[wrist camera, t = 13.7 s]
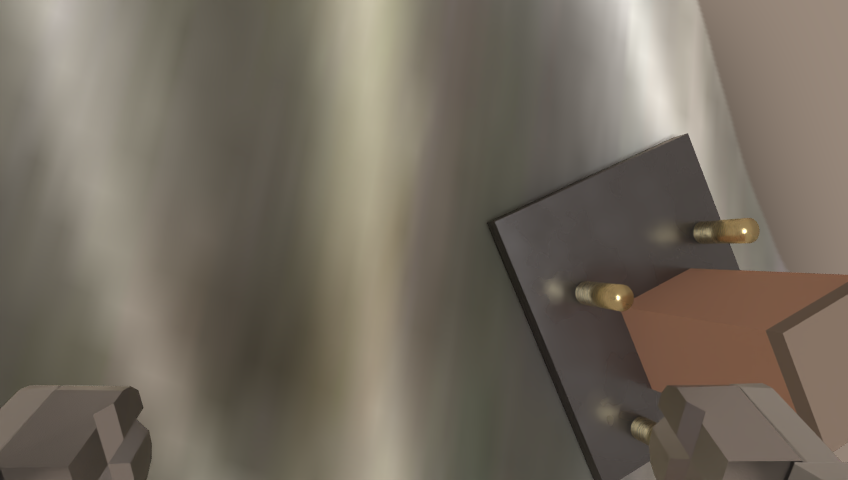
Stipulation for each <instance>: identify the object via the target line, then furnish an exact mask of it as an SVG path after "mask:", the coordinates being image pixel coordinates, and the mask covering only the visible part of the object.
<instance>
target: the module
mask: <svg viewBox="0 0 848 480" xmlns="http://www.w3.org/2000/svg"><path fill="white" fill-rule="evenodd" d="M621 313H622V315H623V318H624V320H625V323H626V325H627V328H628V330H629V333H630V335H631V338H632V340H633V343H634V345H635V348H636V350H637V353H638V355H639V358H640V360H641V363H642V365H643V368H644V370H645V373H646V375H647V378H648V380H649V383H650V385H651V388H652V389H653V390H655V391H658V392H661V393H662V391H663V390H664V389H665V387H666V386H667V385H730V384H746V383H763V384H765V385H767V386H770V387H771V388H773V389H774V390H775V391H776V392H777V393H778V394H779V395H780V396H781V398H782V399H783V400H784V401H785V402H786V403H787V404H788V405H789V406H790V407H791V408H792V409H793V410H794V411H795V412H796V413H797V415H798V416H799V417H800V418H801V419H802V420H803V421H804V422H805V423H806V424H807V425H808V426H809V427H810V428H811V429H812V430H813V432H814V433H815V434H816V435H817V436H818V437H819V438H820V439H821V440H822V441H823V442H824V443H825V444H826V445H827V446H828V447H829V448H830V450H831V451H832V452H834V451H836V450H837V449H839V448H840V447H842V446H843V445H845V444H846V443H847V442H848V275H839V274H838V275H837V274H815V273H791V272H766V271H742V270H718V269H694V268H690V269H688V270H686V271H685V272H683V273H681V274H679V275H677V276H675V277H673V278H671V279H669V280H668V281H666V282H664V283H662V284H660V285H658V286H656V287H654V288H653V289H651V290H649V291H647V292H645V293H643V294H641V295H639V296H638V297H636V298H634V301H633V304H632V306H631V307H630V308H629V309H628V310H626V311H621Z"/></svg>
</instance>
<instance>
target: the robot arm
mask: <svg viewBox="0 0 848 480" xmlns="http://www.w3.org/2000/svg"><path fill="white" fill-rule="evenodd" d="M658 406H659V408H660V410H661V411H662V413H663V415H664V416H665V417H663V418H662V419H661V420H660V421H659V422H658V423H657V424H656V425H655V426H654V427H652V432H651V436H650V441H649V452H650V463H651V466H652V469H653V473H654V476H655V478H656V480H848V462H842V461H841V460H840V459H839V458H838V457H837V456H836V455H835V454H834V453H833V452H832V451H831V450H830V448H829V447H828V446H827V445H826V444H825V443H824V442H823V441H822V440H821V439H820V438H819V437H818V436H817V435H816V434H815V433H814V432H813V430H812V429H811V428H810V427H809V426H808V425H807V424H806V423H805V422H804V421H803V420H802V419H801V418H800V417H799V416H798V415H797V413H796V412H795V411H794V410H793V409H792V408H791V407H790V406H789V405H788V404H787V403H786V402H785V401H784V400H783V399H782V398H781V396H780V395H779V394H778V393H777V392H776V391H775V390H774V389H773V388H771V387H770V386H767V385H765V384H763V383H746V384H730V385H667V386H666V387H665V389H664V390H663V391H662V393H661V396H660V400H659V404H658ZM142 409H143V405H142V401H141V398H140V395H139V391H138V390H137V389H135V388H133V387H131V386H84V385H64V386H59V385H30V386H27V387H25V388H22V389H19V390H18V391H17V393H16V394H15V395H14V396H13V397H12V398H11V399H10V400H9V401H8V402H7V403H6V404H5V405H4V406H3V407H2V408H1V409H0V480H146V479H147V475H148V471H149V467H150V463H151V459H152V443H151V438H150V434H149V430H148V429H147V428H145V427H144V426H143V425H142V424H141V423H140V422H139V421H137V420H136V419H137V417H138V416H139V414H140V412H141V411H142Z"/></svg>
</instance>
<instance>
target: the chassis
mask: <svg viewBox="0 0 848 480" xmlns="http://www.w3.org/2000/svg"><path fill="white" fill-rule="evenodd" d="M487 224H488V226H489V229H490V231H491V234H492V236H493V238H494V241H495V243H496V246H497V248H498V250H499V253H500V255H501V258H502V260H503V262H504V265H505V267H506V270H507V272H508V274H509V277H510V279H511V282H512V284H513V286H514V289H515V291H516V294H517V296H518V298H519V301H520V303H521V306H522V308H523V310H524V313H525V315H526V318H527V320H528V322H529V325H530V327H531V330H532V332H533V334H534V337H535V339H536V341H537V344H538V346H539V349H540V351H541V353H542V356H543V358H544V361H545V363H546V365H547V368H548V370H549V373H550V375H551V377H552V380H553V382H554V385H555V387H556V389H557V392H558V394H559V397H560V399H561V401H562V404H563V406H564V409H565V411H566V413H567V416H568V418H569V421H570V423H571V425H572V428H573V430H574V433H575V435H576V437H577V440H578V442H579V445H580V447H581V449H582V452H583V454H584V457H585V459H586V461H587V464H588V466H589V469H590V471H591V473H592V476H593V478H594V480H620V479H622V478H623V477H625V476H627V475H628V474H630V473H631V472H633V471H635V470H636V469H638V468H639V467H641V466H642V465H644V464H646V463H647V462H649V461H650V452H649V441H650V436H651V432H652V427H654V426H655V425H656V424H657V423H658V422H659V421H660V420H661V419H662V418H663V417H665V416H664V415H663V413H662V411H661V410H660V408H659V406H658V404H659V400H660V396H661V392H658V391H655V390H653V389H652V388H651V385H650V383H649V380H648V378H647V375H646V373H645V370H644V368H643V365H642V363H641V360H640V358H639V355H638V353H637V350H636V348H635V345H634V343H633V340H632V338H631V335H630V333H629V330H628V328H627V325H626V323H625V320H624V318H623V315H622V313H621V311H626V310H628V309H629V308H630V307H631V306H632V304H633V301H634V298H636V297H638V296H639V295H641V294H643V293H645V292H647V291H649V290H651V289H653V288H654V287H656V286H658V285H660V284H662V283H664V282H666V281H668V280H669V279H671V278H673V277H675V276H677V275H679V274H681V273H683V272H685V271H686V270H688V269H690V268H694V269H718V270H739V267H738V264H737V262H736V259H735V256H734V254H733V251H732V249H731V246H730V243H752V242H754V241H756V240H757V238H758V236H759V226H758V224H757V222H756V221H755V220H754V219H752V218H743V219H729V220H720V217H719V214H718V212H717V209H716V206H715V204H714V201H713V198H712V196H711V193H710V191H709V188H708V185H707V183H706V180H705V177H704V175H703V172H702V169H701V167H700V164H699V162H698V159H697V156H696V154H695V151H694V148H693V146H692V143H691V140H690V138H689V135H688V133H687V134H684V135H680V136H677V137H674V138H672V139H670V140H667V141H665V142H663V143H661V144H659V145H656V146H654V147H652V148H650V149H648V150H645V151H643V152H641V153H639V154H637V155H635V156H632V157H630V158H628V159H626V160H624V161H621V162H619V163H617V164H615V165H613V166H610V167H608V168H606V169H604V170H602V171H599V172H597V173H595V174H593V175H591V176H589V177H586V178H584V179H582V180H580V181H578V182H575V183H573V184H571V185H569V186H567V187H564V188H562V189H560V190H558V191H556V192H554V193H551V194H549V195H547V196H545V197H543V198H540V199H538V200H536V201H534V202H532V203H529V204H527V205H525V206H523V207H521V208H519V209H516V210H514V211H512V212H510V213H508V214H505V215H503V216H501V217H499V218H497V219H494V220H492V221H490V222H488V223H487Z"/></svg>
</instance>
